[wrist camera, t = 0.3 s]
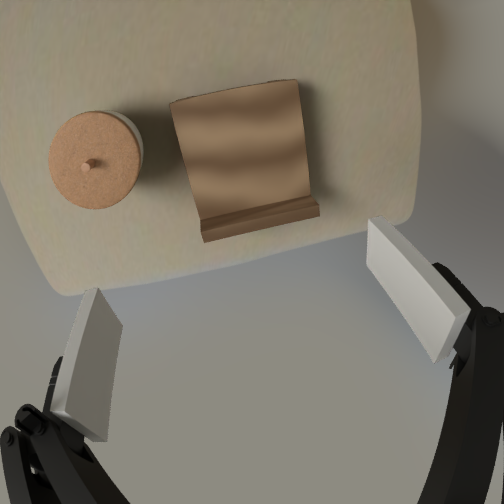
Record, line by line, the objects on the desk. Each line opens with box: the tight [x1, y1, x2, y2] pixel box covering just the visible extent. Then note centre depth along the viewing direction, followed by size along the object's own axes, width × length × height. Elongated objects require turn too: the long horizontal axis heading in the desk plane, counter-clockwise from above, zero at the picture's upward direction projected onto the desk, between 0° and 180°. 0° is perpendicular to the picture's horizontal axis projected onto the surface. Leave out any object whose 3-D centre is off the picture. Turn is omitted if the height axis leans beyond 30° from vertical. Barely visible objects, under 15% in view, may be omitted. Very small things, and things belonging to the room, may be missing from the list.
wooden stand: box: [169, 79, 320, 243], centre depth 33 cm, size 16×14×7 cm
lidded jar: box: [49, 110, 144, 209], centre depth 28 cm, size 11×11×9 cm
